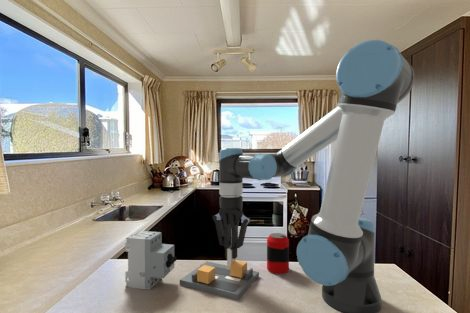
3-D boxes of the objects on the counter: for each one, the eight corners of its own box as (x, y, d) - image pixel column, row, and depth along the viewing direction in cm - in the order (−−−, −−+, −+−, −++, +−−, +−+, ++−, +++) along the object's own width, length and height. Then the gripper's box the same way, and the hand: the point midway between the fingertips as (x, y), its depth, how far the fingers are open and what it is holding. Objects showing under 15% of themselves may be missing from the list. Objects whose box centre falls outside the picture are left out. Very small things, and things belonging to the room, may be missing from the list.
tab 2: (247, 272, 88) (247, 262, 88) (241, 278, 85) (241, 266, 85) (235, 270, 90) (235, 260, 90) (230, 275, 87) (230, 264, 87)
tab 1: (215, 278, 84) (215, 267, 84) (208, 284, 81) (208, 272, 81) (204, 275, 86) (204, 264, 86) (197, 281, 83) (197, 269, 83)
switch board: (258, 276, 90) (258, 265, 90) (237, 299, 75) (237, 287, 75) (207, 265, 99) (207, 255, 99) (179, 284, 84) (179, 273, 84)
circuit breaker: (169, 291, 80) (169, 240, 80) (125, 286, 83) (125, 237, 83) (179, 280, 87) (179, 233, 87) (138, 275, 90) (138, 230, 90)
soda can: (284, 276, 90) (284, 240, 90) (263, 271, 94) (263, 236, 94) (292, 268, 96) (292, 234, 96) (272, 263, 100) (272, 231, 100)
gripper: (254, 195, 89) (254, 267, 89) (219, 192, 95) (219, 260, 95) (244, 198, 82) (244, 276, 82) (207, 195, 88) (208, 268, 88)
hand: (231, 267), depth 89 cm, fingers closed
